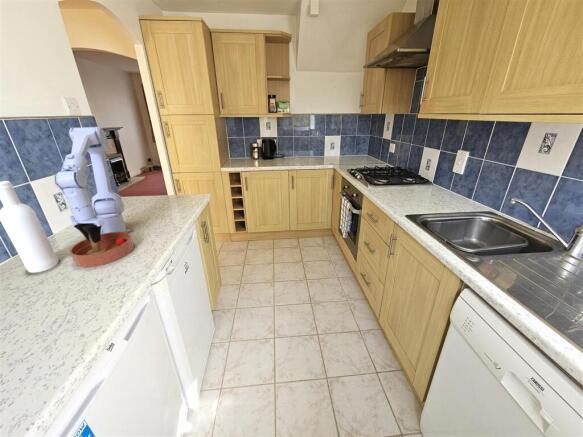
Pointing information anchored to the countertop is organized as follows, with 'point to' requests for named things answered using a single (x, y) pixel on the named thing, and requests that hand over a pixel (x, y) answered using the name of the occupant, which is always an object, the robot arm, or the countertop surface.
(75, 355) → the countertop surface
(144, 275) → the countertop surface
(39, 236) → the bottle
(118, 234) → the bowl
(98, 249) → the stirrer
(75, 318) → the countertop surface
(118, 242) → the tomato
